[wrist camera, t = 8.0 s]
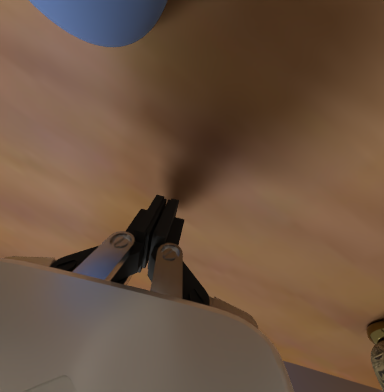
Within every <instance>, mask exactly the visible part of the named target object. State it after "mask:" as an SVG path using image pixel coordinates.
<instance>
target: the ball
mask: <svg viewBox="0 0 384 392" xmlns="http://www.w3.org/2000/svg"><path fill="white" fill-rule="evenodd" d="M29 1H30V2H31V3H32V4H33V5H34V6H35V7H36V8H37V9H38V10H40V11H41V12H42V13H43V14H44V15H45V16H46V17H47V18H49V19H50V20H51V21H52V22H54V23H55V24H56V25H58V26H59V27H61V28H62V29H64V30H65V31H67V32H68V33H70V34H72V35H74V36H76V37H77V38H79V39H82V40H84V41H86V42H89V43H92V44H95V45H99V46H105V47H121V46H125V45H129V44H132V43H134V42H136V41H138V40H139V39H141V38H143V37H144V36H145V35H146V34H147V33H148V32H149V31H150V30H151V29H152V28H153V27H154V25H155V24H156V23H157V21H158V20H159V18H160V16H161V14H162V12H163V10H164V8H165V6H166V3H167V0H29Z"/></svg>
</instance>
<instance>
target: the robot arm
mask: <svg viewBox="0 0 384 392" xmlns="http://www.w3.org/2000/svg"><path fill="white" fill-rule="evenodd" d="M178 203H179V200H176V199H171V200H168V202H167V204H166V199H164V196H160V195H156V197H155V198H154V200H153V202H152V203H151V205H150V206H149V208H148V210H144V209H141V210H140V211H139V212H138V214H137V215H136V217H135V218H134V220H133V221H132V223H131V224H130V226H129V227H128V229H127V230H126V231H120V232H116V233H113V234H112V235H110V236H109V237H108V238H107V239H106V240H105V241H104V242H103V243H102V244H101V245H100V246H97V247H93V248H90V249H87V250H84V251H81V252H78V253H74V254H71V255H68V256H65V257H62V258H60V259H58V260H55V258H48V257H19V256H12V257H5V258H0V392H294V391H293V387H292V384H291V381H290V379H289V376H288V373H287V370H286V368H285V365H284V363H283V361H282V358H281V356H280V354H279V352H278V351H277V349H276V347H275V346H274V344H273V343H272V342H271V341H270V340H269V338H268V337H267V336H265V335H264V334H263V333H262V332H261V331H260V330H259V329H258V325H257V323H256V321H255V320H254V319H253V317H252V316H251V315H249V314H248V313H246V312H244V311H242V310H240V309H238V308H236V307H234V306H232V305H230V304H228V303H226V302H224V301H222V300H220V299H218V298H216V297H214V298H212V297H210V296H208V294H207V292H206V290H205V289H204V288H203V287H202V285H201V284H200V283H199V281H198V280H197V279H196V278H195V276H194V275H193V274H192V272H191V271H190V270H189V268H188V267H187V266H186V265H185V263H184V262H183V253H182V250H181V248H180V247H179V246H178V244H179V240H180V236H181V232H182V228H183V224H184V219H180V218H176V217H175V216H176V212H177V207H178ZM148 260H149V262H148ZM147 263H148V276H149V278H150V280H151V282H152V284H151V289H150V291H148V290H144V289H140V288H136V287H132V286H128V285H127V284H128V282H129V281H130V279H131V277H132V275H133V274H135V273H137V272H141V269H142V268H145V267H146V265H147Z"/></svg>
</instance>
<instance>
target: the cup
mask: <svg viewBox="0 0 384 392" xmlns="http://www.w3.org/2000/svg"><path fill="white" fill-rule="evenodd" d="M367 335H368V338H369V339H370V341H372V342H373V343H374V344H375V346H374V347H373V349H372V351H371V362H372V366H373V369H374V371H375V374H376V376H377V379H378V381H379V383H380V385H381V387H382V389H383V391H384V321H378V322H375V323H373V324H371V325H369V326H368V327H367Z"/></svg>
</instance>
